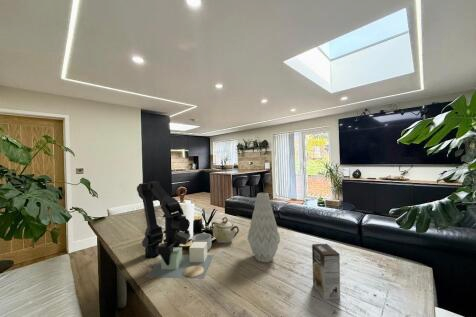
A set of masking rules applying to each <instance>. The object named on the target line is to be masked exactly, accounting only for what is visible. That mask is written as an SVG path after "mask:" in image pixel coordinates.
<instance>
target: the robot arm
mask: <svg viewBox="0 0 476 317" xmlns="http://www.w3.org/2000/svg"><path fill="white" fill-rule="evenodd" d="M136 191H137V193H138V196H139V197H140V198H141V199H142V203H143V209H144V215H145V222H146V226H147V227H146V230H145V232H144V238H143V239H142V241H141V245H142V247H143V248H145V249H144V252H145V255H144V259H156V258H157V257H158V256H160V258H161V257H162V258H163V260H164V262H165V263H166V265H169V263H170V255H171V253H172V252H173V251H174V250H173V247H180V244H183V245H187V244H188V243H189V239H190V238H191V234H190V229H189V228H190V225H191V224H190V223H191V222H190V221H189V219H187V215H184V214H185V213H184V210H183V208H182V206H181V204H180V202H179V201H178V200H177V199H176V198H174V197H172V196H170V195H169V194H168V192H167V191H166V190H164V188H163V187H162V186H161V185H160V182H159V181H158V180H157V181H156V180H155V181H149V182H143V183H139V184H138V185H137V186H136ZM154 196H155V198H156V199H157V200H158V202H160V209H161V211H162V212H163V213H164V214H163V215H162V217H163V218H164V230H163V228H162V226H160V225H159V224H158V223H157V216H156V210H155V205H154V199H153V197H154ZM164 235H165V236H164Z"/></svg>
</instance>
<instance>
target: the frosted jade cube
mask: <svg viewBox="0 0 476 317" xmlns="http://www.w3.org/2000/svg"><path fill="white" fill-rule="evenodd" d="M173 250H174V251H173V252H172V253H171V255H170V263H169V265H166V263H165V262H164V260H163V258H162V257H161V256H160V258H161V259H160V260H161V269H176V270H177V268H178V267H179V265H180V264H181V263H182V255H183V247H180V246H179V247H173Z"/></svg>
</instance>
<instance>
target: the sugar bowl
mask: <svg viewBox="0 0 476 317" xmlns="http://www.w3.org/2000/svg"><path fill="white" fill-rule="evenodd" d="M211 228H212V235H213V237H214V238H215V240H216V241H217V242H218V243H219V244H230V243H232V242H233V240H234V238H235V237H236V236H237V234H238V233H239V232H240V229H239V227H238V226H237V225H235V224H234V223H232V222H230V221H228V217H227V216H224V217H223V218H222V220H221V222H216V221H213V222H212V223H211Z"/></svg>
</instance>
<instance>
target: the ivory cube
mask: <svg viewBox="0 0 476 317" xmlns="http://www.w3.org/2000/svg"><path fill="white" fill-rule="evenodd" d="M188 250H189V251H188V252H189V254H188V255H190V262H204V261H205V259H206V257H207V255H208V251H207V242H193V243H192V242H191V244H190V246H189V248H188Z"/></svg>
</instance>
